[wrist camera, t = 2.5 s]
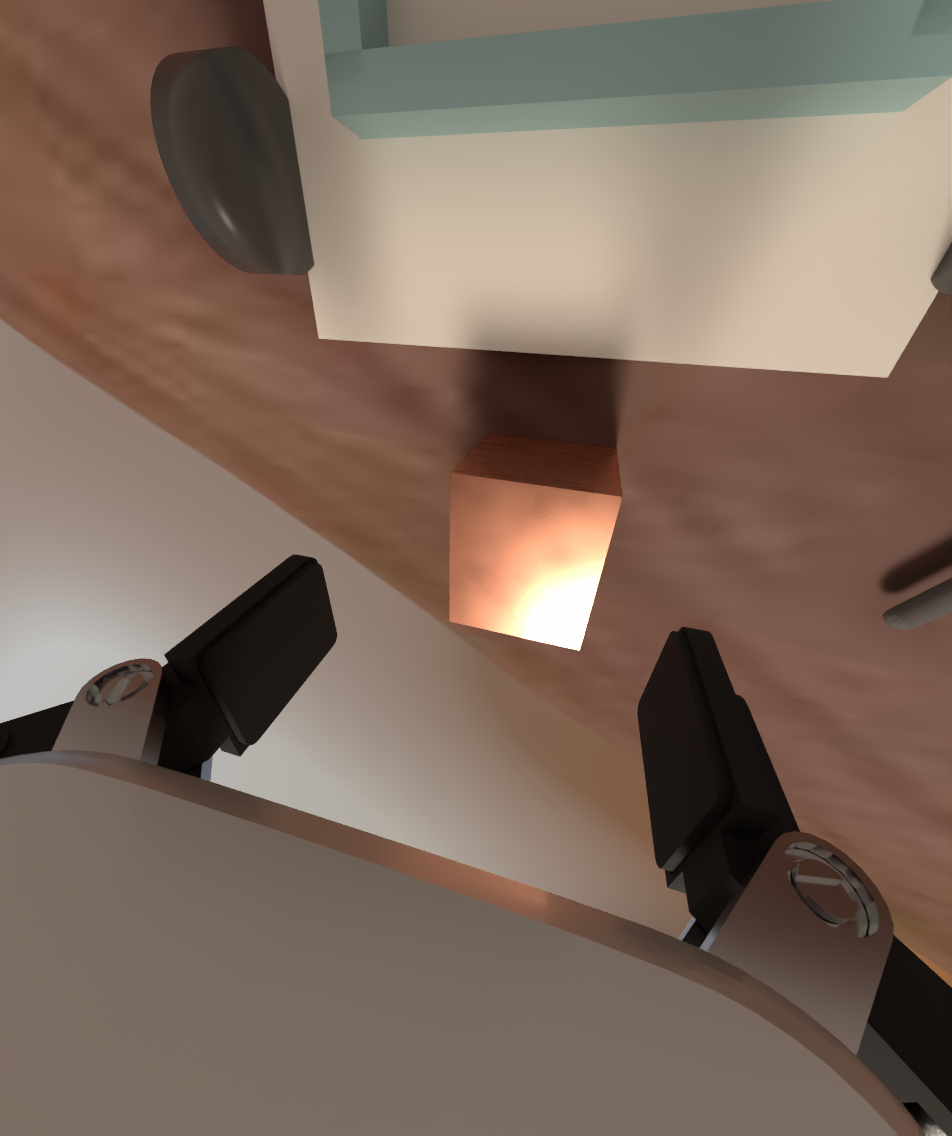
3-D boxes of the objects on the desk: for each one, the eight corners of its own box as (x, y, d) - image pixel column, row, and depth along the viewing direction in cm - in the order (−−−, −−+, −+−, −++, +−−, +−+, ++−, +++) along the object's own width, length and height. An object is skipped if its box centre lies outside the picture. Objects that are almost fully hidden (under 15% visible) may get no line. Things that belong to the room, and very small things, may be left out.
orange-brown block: (616, 447, 14) (622, 497, 10) (584, 575, 18) (579, 650, 14) (489, 432, 15) (449, 472, 11) (482, 556, 19) (449, 621, 15)
